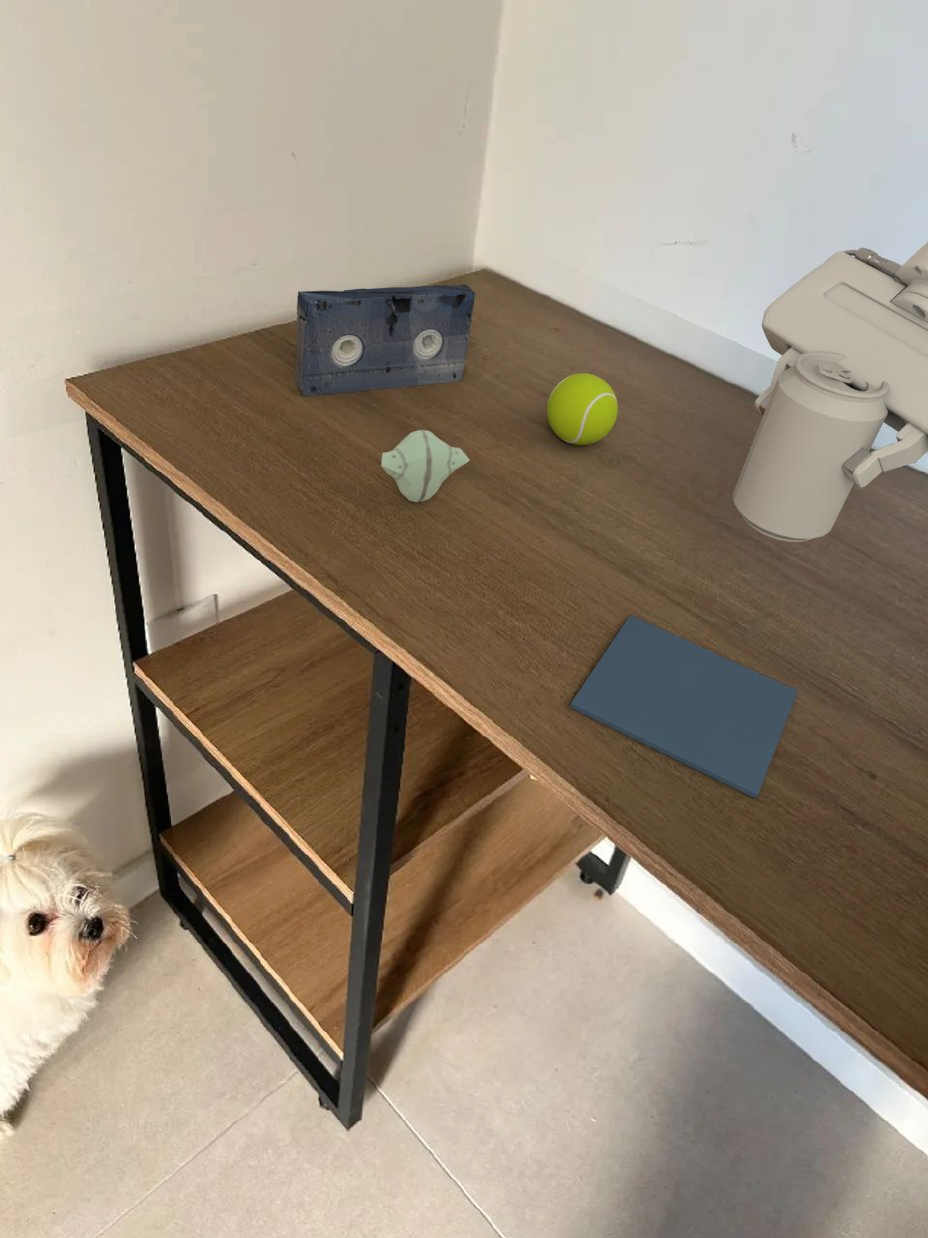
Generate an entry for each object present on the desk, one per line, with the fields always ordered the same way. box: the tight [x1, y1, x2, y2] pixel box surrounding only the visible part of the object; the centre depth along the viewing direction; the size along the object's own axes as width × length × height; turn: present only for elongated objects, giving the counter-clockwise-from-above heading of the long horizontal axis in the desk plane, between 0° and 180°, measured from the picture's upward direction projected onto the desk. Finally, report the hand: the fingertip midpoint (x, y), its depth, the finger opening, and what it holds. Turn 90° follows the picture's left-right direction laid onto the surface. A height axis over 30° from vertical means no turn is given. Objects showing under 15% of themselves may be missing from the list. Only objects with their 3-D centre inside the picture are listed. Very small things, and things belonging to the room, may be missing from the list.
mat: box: [569, 614, 799, 799], centre depth 69 cm, size 14×12×1 cm
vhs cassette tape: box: [294, 284, 476, 397], centre depth 95 cm, size 18×3×10 cm, turn 115°
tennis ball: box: [546, 372, 619, 446], centre depth 93 cm, size 7×7×7 cm
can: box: [732, 351, 889, 543], centre depth 65 cm, size 8×8×12 cm
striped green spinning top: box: [380, 429, 471, 503], centre depth 81 cm, size 8×4×7 cm, turn 110°
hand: (805, 444), depth 65 cm, fingers closed on can, 7 cm apart
